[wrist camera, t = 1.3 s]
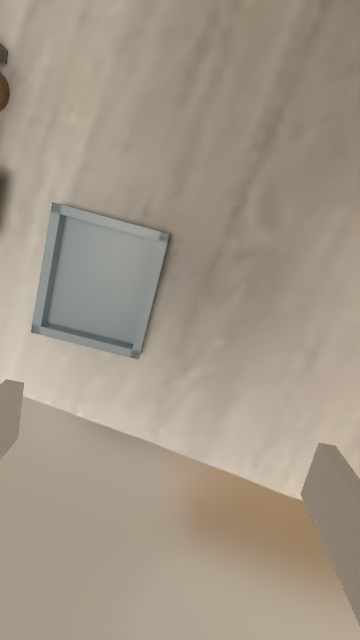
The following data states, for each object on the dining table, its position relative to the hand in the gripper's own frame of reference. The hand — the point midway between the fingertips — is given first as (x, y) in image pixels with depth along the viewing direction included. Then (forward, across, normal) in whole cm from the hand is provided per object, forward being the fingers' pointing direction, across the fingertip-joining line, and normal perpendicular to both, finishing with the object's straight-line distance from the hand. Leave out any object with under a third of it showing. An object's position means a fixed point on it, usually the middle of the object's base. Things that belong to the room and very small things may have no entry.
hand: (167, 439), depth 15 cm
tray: (+27, -10, +2) cm, 29 cm away
